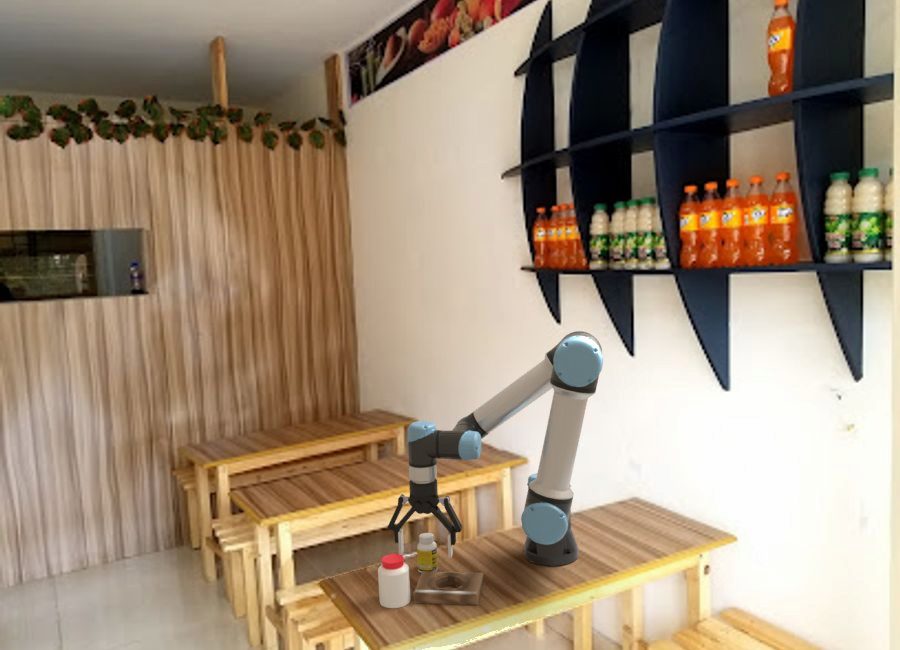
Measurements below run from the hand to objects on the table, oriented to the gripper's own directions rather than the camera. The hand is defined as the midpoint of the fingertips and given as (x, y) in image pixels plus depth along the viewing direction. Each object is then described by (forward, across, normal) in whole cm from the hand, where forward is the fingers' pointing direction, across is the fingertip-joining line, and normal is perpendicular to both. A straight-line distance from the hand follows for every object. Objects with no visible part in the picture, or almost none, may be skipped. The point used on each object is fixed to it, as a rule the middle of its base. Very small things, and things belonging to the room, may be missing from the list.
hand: (425, 555), depth 193 cm
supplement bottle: (+4, 0, 0) cm, 5 cm away
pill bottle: (+5, +4, +17) cm, 19 cm away
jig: (+4, -8, +12) cm, 15 cm away
